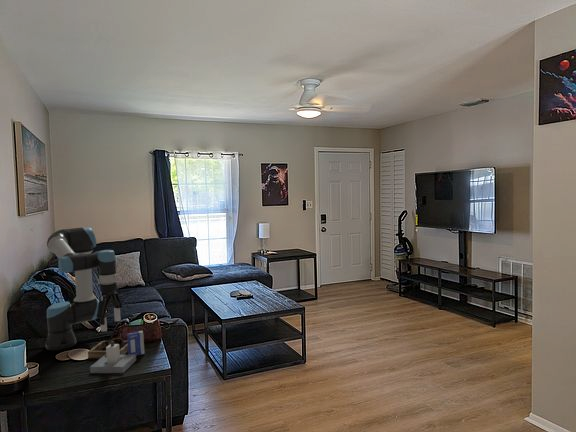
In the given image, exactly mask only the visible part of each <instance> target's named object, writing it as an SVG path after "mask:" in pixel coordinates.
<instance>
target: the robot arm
mask: <svg viewBox="0 0 576 432" xmlns="http://www.w3.org/2000/svg"><path fill="white" fill-rule="evenodd" d="M46 246H47V249H48V250H49V251H50V253H53V254H54V255H55V256H56V257H57V259H58V261H57V262H58V263H57V265H58V269H59V272H61V273H62V274H64V273H73V272H74V282H75V295H76V296H75V297H74V299H73V303H70V301H61V302H57V303H54V304H52V305H50V306H48V308H47V309H46V321H47V322H46V323H47V338H46V342H45V350H47V351H61V350H65V349H69V348H71V347H73V346H75V345H77V338H76V335H75V333H74V331H73V328H72V326H73V325H77V324H82V323H85V322H91V321H93V320H97V319H99V327H100V332H107V331H108V323H107V316H106V314H107V312H108V308H109V305H110V304H112V305H113V306H114V308H113V314H114V315H113V316H114V322H121V320H122V319H121V309H122V308H123V302H122V300H121V297H120V293H119V288H118V283H117V277H118V276H117V268H116V267H117V266H116V265H117V264H116V254H115V251H114V250H112V249H103V250H99V251H94V248H95V247H97V238H96V235H95V232H94V230H93V229H92V228H91V227H75V228H74V227H73V228H64V229H58V230H56V231H54V232H53V233H51V234H50V235H49V237H48V238H47V240H46ZM93 251H94V252H93ZM92 252H93V253H92ZM93 269H98V277H99V292H101V293H102V295H99V298H97V296H96V295H94V290H93V273H92V270H93Z"/></svg>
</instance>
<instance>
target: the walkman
mask: <svg viewBox="0 0 576 432" xmlns="http://www.w3.org/2000/svg"><path fill="white" fill-rule="evenodd" d="M144 340H145V334H144V330H139V331H134V332H129V333H126V341H127V345H128V352H127V355H136V357H137V356H138V357H139V356H142V355H145V353H146V352H145V343H144V342H145V341H144Z"/></svg>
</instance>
